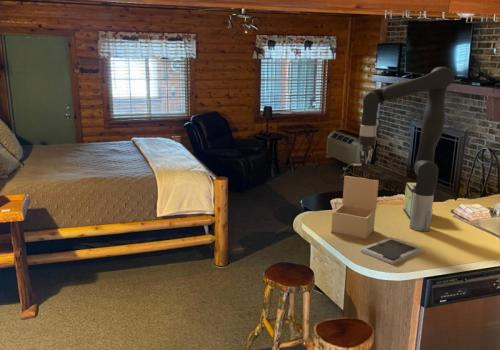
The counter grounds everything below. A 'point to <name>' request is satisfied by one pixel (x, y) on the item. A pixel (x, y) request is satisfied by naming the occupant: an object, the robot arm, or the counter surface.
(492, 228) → the counter surface
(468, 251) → the counter surface
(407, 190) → the protein box
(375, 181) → the lid flap
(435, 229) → the counter surface
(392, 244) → the picture frame
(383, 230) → the counter surface
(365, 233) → the carton
